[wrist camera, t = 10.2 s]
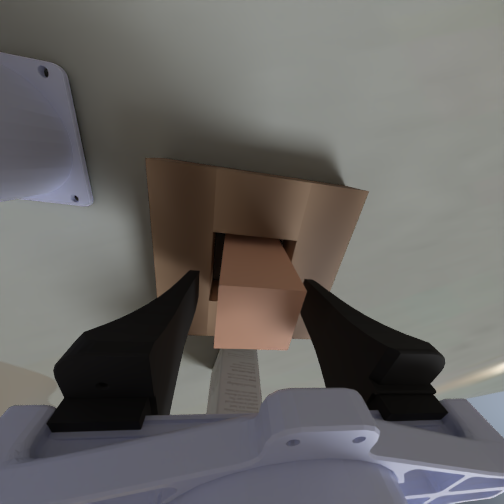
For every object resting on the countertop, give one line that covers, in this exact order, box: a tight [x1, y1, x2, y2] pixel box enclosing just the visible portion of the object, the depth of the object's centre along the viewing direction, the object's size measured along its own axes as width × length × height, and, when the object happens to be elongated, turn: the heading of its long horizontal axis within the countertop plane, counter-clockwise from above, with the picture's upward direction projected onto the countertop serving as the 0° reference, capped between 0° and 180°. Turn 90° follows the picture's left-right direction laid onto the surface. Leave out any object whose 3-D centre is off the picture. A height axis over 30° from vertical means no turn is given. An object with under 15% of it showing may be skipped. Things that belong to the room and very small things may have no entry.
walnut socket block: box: [145, 158, 369, 339], centre depth 16 cm, size 14×14×3 cm
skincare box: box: [206, 348, 262, 414], centre depth 18 cm, size 6×4×12 cm
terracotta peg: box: [214, 233, 307, 350], centre depth 14 cm, size 4×4×8 cm
